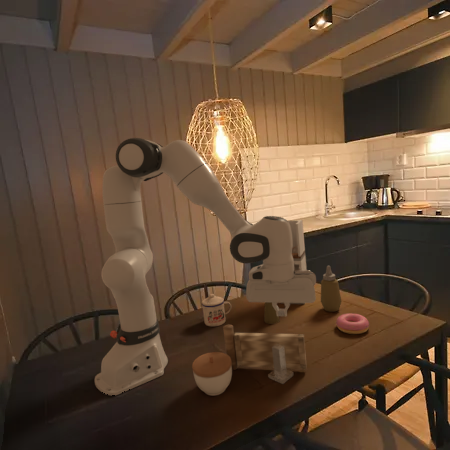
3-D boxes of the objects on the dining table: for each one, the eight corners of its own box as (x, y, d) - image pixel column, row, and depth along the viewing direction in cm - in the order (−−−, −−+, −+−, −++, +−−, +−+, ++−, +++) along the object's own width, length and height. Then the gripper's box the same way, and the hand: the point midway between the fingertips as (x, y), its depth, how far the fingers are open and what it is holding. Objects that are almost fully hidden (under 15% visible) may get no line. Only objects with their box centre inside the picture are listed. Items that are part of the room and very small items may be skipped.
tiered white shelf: (285, 294, 153) (279, 221, 148) (308, 294, 149) (302, 219, 144) (280, 303, 143) (272, 225, 138) (304, 304, 138) (297, 223, 134)
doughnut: (354, 319, 120) (353, 308, 119) (377, 331, 110) (376, 319, 109) (329, 326, 117) (329, 315, 116) (350, 339, 106) (349, 327, 106)
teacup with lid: (207, 329, 125) (203, 300, 124) (201, 320, 134) (198, 293, 132) (236, 321, 129) (233, 293, 127) (228, 313, 138) (225, 287, 136)
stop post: (283, 384, 87) (280, 353, 86) (268, 377, 91) (265, 347, 89) (293, 375, 90) (290, 345, 89) (279, 369, 94) (276, 340, 93)
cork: (279, 316, 129) (276, 290, 128) (280, 323, 123) (277, 295, 122) (264, 317, 130) (261, 291, 128) (264, 324, 124) (261, 297, 122)
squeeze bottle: (317, 308, 133) (313, 265, 131) (333, 303, 135) (330, 262, 133) (329, 315, 126) (325, 270, 123) (346, 310, 128) (343, 266, 125)
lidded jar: (187, 392, 88) (183, 360, 87) (214, 372, 96) (210, 342, 95) (215, 407, 81) (211, 372, 80) (242, 384, 89) (238, 352, 88)
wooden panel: (237, 366, 96) (234, 335, 95) (238, 363, 98) (235, 332, 96) (306, 369, 91) (303, 337, 89) (306, 366, 92) (303, 334, 91)
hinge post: (232, 371, 95) (227, 330, 94) (225, 368, 98) (220, 327, 96) (239, 366, 98) (235, 326, 96) (232, 363, 100) (228, 323, 98)
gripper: (315, 267, 95) (317, 311, 97) (247, 268, 100) (250, 310, 102) (315, 273, 89) (318, 321, 91) (243, 274, 94) (246, 319, 96)
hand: (281, 315), depth 97 cm, fingers closed
